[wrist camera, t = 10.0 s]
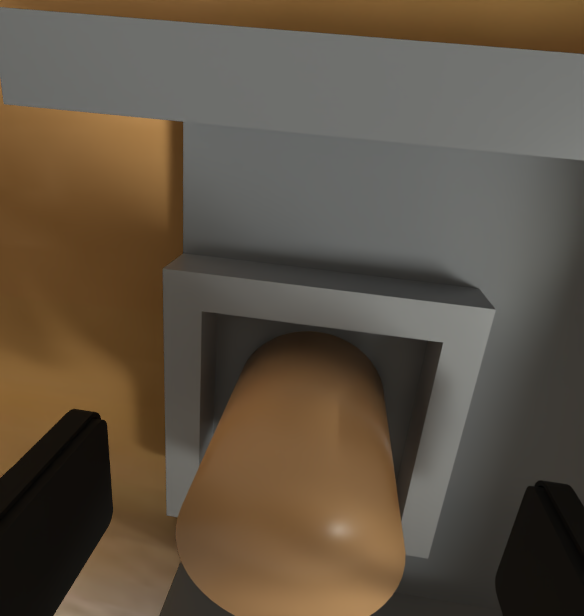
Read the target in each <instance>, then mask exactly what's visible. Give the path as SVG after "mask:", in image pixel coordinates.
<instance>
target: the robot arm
mask: <svg viewBox="0 0 584 616" xmlns="http://www.w3.org/2000/svg"><path fill="white" fill-rule="evenodd" d="M112 514H113V503H112V489H111V474H110V460H109V446H108V432H107V423H106V421H105V420H101V417H100V415H99V413H97V412H91V411H84V410H78V409H72V410H70V411H69V412H67V413H66V414H65V415H64V416H63V417H62V418H61V419H60V420H59V421H58V422H57V423H56V424H55V425H54V426H53V427H52V428H51V429H50V430H49V431H48V432H47V433H46V434H45V435H44V436H43V437H42V438H41V439H40V440H39V441H38V442H37V443H36V444H35V445H34V446H33V447H32V448H31V449H30V450H29V451H28V452H27V453H26V454H25V455H24V456H23V457H22V458H21V459H20V460H19V461H18V462H17V463H16V464H15V465H14V466H13V467H12V468H10V469H9V470H8V471H7V472H6V473H5V474H4V475H3V476H2V477H1V478H0V616H53V615H54V614H55V612H56V610H57V609H58V607H59V605H60V604H61V602H62V601H63V599H64V597H65V596H66V594H67V593H68V591H69V589H70V588H71V586H72V584H73V583H74V581H75V580H76V578H77V576H78V575H79V573H80V571H81V570H82V568H83V567H84V565H85V563H86V562H87V560H88V558H89V557H90V555H91V554H92V552H93V550H94V549H95V547H96V545H97V544H98V542H99V541H100V539H101V537H102V536H103V534H104V533H105V531H106V529H107V528H108V526H109V524H110V521H111V518H112ZM495 589H496V594H497V598H498V601H499V604H500V608H501V611H502V614H503V616H584V506H583V504H582V503H581V501H580V499H579V498H578V496H577V494H576V493H575V491H574V490H573V488H572V487H571V486H570V485H568V484H563V483H556V482H550V481H543V480H539V481H537V482H536V483H535V485H534V486H528V487H527V489H526V491H525V493H524V496H523V499H522V502H521V505H520V507H519V510H518V513H517V516H516V519H515V522H514V524H513V527H512V530H511V533H510V536H509V539H508V541H507V544H506V547H505V550H504V553H503V556H502V559H501V561H500V564H499V567H498V570H497V573H496V577H495Z"/></svg>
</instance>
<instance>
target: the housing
mask: <svg viewBox="0 0 584 616" xmlns="http://www.w3.org/2000/svg"><path fill="white" fill-rule="evenodd" d="M0 79H1V86H2V94H3V102H4V104H8V105H18V106H28V107H39V108H49V109H59V110H69V111H80V112H90V113H100V114H110V115H121V116H131V117H141V118H152V119H162V120H172V121H182V122H183V254H182V255H180V256H179V257H178V258H176V259H175V260H173V261H172V262H171V263H169V264H168V265H167V266H165V267H164V268H163V320H164V382H165V444H166V506H167V516H173V517H178V515H179V512H180V509H181V506H182V504H183V502H184V500H185V497H186V495H187V493H188V491H189V488H190V486H191V484H192V482H193V479H194V477H195V475H196V473H197V470H198V468H199V466H200V464H201V461H202V459H203V457H204V455H205V452H206V450H207V448H208V446H209V444H210V441H211V439H212V437H213V435H214V432H215V430H216V428H217V426H218V423H219V421H220V419H221V417H222V414H223V412H224V410H225V408H226V405H227V403H228V401H229V399H230V396H231V394H232V392H233V390H234V387H235V385H236V383H237V381H238V378H239V376H240V374H241V372H242V369H243V368H244V366H245V364H246V362H247V361H248V359H249V358H250V356H251V355H252V354H253V353H254V352H255V351H256V350H257V349H258V348H259V347H261V346H262V345H263V344H265V343H266V342H268V341H270V340H272V339H273V338H276V337H278V336H281V335H284V334H288V333H292V332H300V331H314V332H322V333H326V334H330V335H333V336H336V337H339V338H341V339H343V340H345V341H347V342H349V343H351V344H352V345H354V346H355V347H357V348H358V349H359V350H360V351H362V352H363V353H364V354H365V355H366V356H367V357H368V359H369V360H370V361H371V362H372V364H373V365H374V367H375V368H376V370H377V372H378V374H379V376H380V378H381V382H382V385H383V391H384V398H385V406H386V413H387V420H388V428H389V435H390V442H391V450H392V457H393V464H394V472H395V479H396V486H397V494H398V501H399V508H400V516H401V523H402V530H403V538H404V545H405V552H406V555H405V567H404V572H403V576H402V578H401V581H400V583H399V585H398V587H397V589H396V590H395V592H394V593H393V595H392V596H391V597H390V599H389V600H388V601H387V602H386V603H385V604H384V605H383V606H382V607H381V608H379V609H378V610H377V611H376V612H374V613H373V614H371V615H370V616H503V614H502V611H501V608H500V604H499V601H498V598H497V594H496V589H495V577H496V573H497V570H498V567H499V564H500V561H501V559H502V556H503V553H504V550H505V547H506V544H507V541H508V539H509V536H510V533H511V530H512V527H513V524H514V522H515V519H516V516H517V513H518V510H519V507H520V505H521V502H522V499H523V496H524V493H525V491H526V489H527V487H528V486H534V485H535V483H536V482H537V481H539V480H543V481H550V482H556V483H563V484H568V485H570V486H571V487H572V488H573V490H574V491H575V493H576V494H577V496H578V498H579V499H580V501H581V503H582V504H583V506H584V54H576V53H564V52H551V51H539V50H526V49H514V48H501V47H489V46H476V45H464V44H452V43H439V42H427V41H414V40H402V39H389V38H377V37H364V36H352V35H339V34H327V33H315V32H302V31H290V30H277V29H265V28H252V27H240V26H227V25H215V24H202V23H190V22H178V21H165V20H153V19H140V18H128V17H115V16H103V15H90V14H78V13H65V12H53V11H41V10H28V9H16V8H3V7H0ZM159 616H235V615H233V614H231V613H230V612H228V611H226V610H224V609H223V608H221V607H220V606H218V605H217V604H216V603H214V602H213V601H212V600H211V599H209V598H208V597H207V596H206V595H205V594H204V593H203V592H202V591H201V590H200V589H199V588H198V587H197V586H196V585H195V583H194V582H193V581H192V579H191V578H190V576H189V575H188V574H187V572H186V570H185V568H184V566H183V564H182V562H180V564H179V567H178V570H177V572H176V575H175V577H174V580H173V582H172V585H171V587H170V590H169V592H168V595H167V598H166V600H165V603H164V605H163V608H162V610H161V613H160V615H159Z"/></svg>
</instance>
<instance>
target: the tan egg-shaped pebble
mask: <svg viewBox="0 0 584 616" xmlns="http://www.w3.org/2000/svg"><path fill="white" fill-rule="evenodd" d="M176 544H177V550H178V554H179V556H180V559H181V562H182V564H183V566H184V568H185V570H186V572H187V574H188V575H189V576H190V578H191V579H192V581H193V582H194V583H195V585H196V586H197V587H198V588H199V589H200V590H201V591H202V592H203V593H204V594H205V595H206V596H207V597H208V598H209V599H211V600H212V601H213V602H214V603H216V604H217V605H218V606H220V607H221V608H223V609H224V610H226V611H228V612H230V613H231V614H233V615H235V616H370V615H371V614H373V613H374V612H376V611H377V610H378V609H379V608H381V607H382V606H383V605H384V604H385V603H386V602H387V601H388V600H389V599H390V597H391V596H392V595H393V593H394V592H395V590H396V589H397V587H398V585H399V583H400V581H401V578H402V576H403V572H404V567H405V555H406V552H405V545H404V538H403V530H402V523H401V516H400V508H399V501H398V494H397V486H396V479H395V472H394V464H393V457H392V450H391V442H390V435H389V428H388V420H387V413H386V406H385V398H384V391H383V385H382V382H381V378H380V376H379V374H378V372H377V370H376V368H375V367H374V365H373V364H372V362H371V361H370V360H369V359H368V357H367V356H366V355H365V354H364V353H363V352H362V351H360V350H359V349H358V348H357V347H355V346H354V345H352V344H351V343H349V342H347V341H345V340H343V339H341V338H339V337H336V336H333V335H330V334H326V333H322V332H314V331H300V332H292V333H288V334H284V335H281V336H278V337H276V338H273V339H272V340H270V341H268V342H266V343H265V344H263V345H262V346H261V347H259V348H258V349H257V350H256V351H255V352H254V353H253V354H252V355H251V356H250V358H249V359H248V361H247V362H246V364H245V366H244V368H243V369H242V372H241V374H240V376H239V378H238V381H237V383H236V385H235V387H234V390H233V392H232V394H231V396H230V399H229V401H228V403H227V405H226V408H225V410H224V412H223V414H222V417H221V419H220V421H219V423H218V426H217V428H216V430H215V432H214V435H213V437H212V439H211V441H210V444H209V446H208V448H207V450H206V452H205V455H204V457H203V459H202V461H201V464H200V466H199V468H198V470H197V473H196V475H195V477H194V479H193V482H192V484H191V486H190V488H189V491H188V493H187V495H186V497H185V500H184V502H183V504H182V506H181V509H180V512H179V515H178V518H177V523H176Z"/></svg>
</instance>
